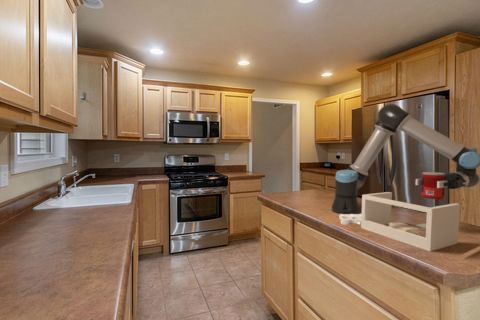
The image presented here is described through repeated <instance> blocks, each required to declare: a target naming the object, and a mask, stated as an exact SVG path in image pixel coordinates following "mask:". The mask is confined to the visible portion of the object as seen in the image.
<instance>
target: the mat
mask: <svg viewBox="0 0 480 320" xmlns="http://www.w3.org/2000/svg"><path fill="white" fill-rule="evenodd" d="M415 226H417V227H421V228H424V229H426V223H418V224H415Z"/></svg>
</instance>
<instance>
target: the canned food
mask: <svg viewBox="0 0 480 320" xmlns="http://www.w3.org/2000/svg"><path fill="white" fill-rule="evenodd" d="M445 174H446V173H445V172H435V171H434V172H433V171H423V172H422V177H421V178H422V185H421V196H422V198H425V199H430V200H431V199H432V200H443V199H444V198H445V188H446V187H444V188H437V181H445Z"/></svg>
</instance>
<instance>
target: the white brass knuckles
mask: <svg viewBox="0 0 480 320" xmlns="http://www.w3.org/2000/svg"><path fill="white" fill-rule="evenodd" d="M361 216H362V213H359V214H340V213H339V214H338V218H339V221H340V225H343V226H348V225H352V224H358V225H359V226H361Z"/></svg>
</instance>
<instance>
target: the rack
mask: <svg viewBox="0 0 480 320" xmlns="http://www.w3.org/2000/svg"><path fill="white" fill-rule="evenodd" d="M361 196H362V197H361V214H362V216H361V224H360V228H361V229H363V230H366V231H369V232H372V233H375V234H377V235H381V236H383V237H386V238H389V239H392V240H395V241H398V242H401V243H405V244H407V245H409V246H413V247H415V248H418V249H422V250H425V251H428V252H432V251H433V252H434V251H436V250H440V249H443V248H447V247H449V246H453V245H456V244H458V243H459V228H460V227H459V226H460V225H459V224H460V211H461V206H460V203H455V202H454V203H448V204H442V205H436V206H432V207H431V206H430V207H428V206H424V205H418V204H414V203H409V202H403V201H399V200H393V192H390V191H387V192H386V191H385V192H376V193H367V194H362V195H361ZM392 206H394V207H399V208H405V209H409V210H413V211H419V212H423V213H426V223H425V224H426V228H425V236H421V235H420V236H419V235H415V234H412V233H409V232H405V231H402V230H399V229H395V228H392V227H389V223H392Z"/></svg>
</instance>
